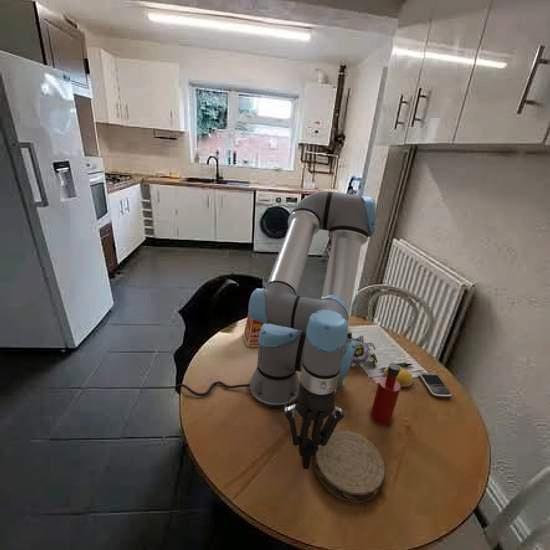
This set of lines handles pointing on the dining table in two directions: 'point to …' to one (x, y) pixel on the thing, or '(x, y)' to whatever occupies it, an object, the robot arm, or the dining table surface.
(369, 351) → the passion flower
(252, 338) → the milk carton
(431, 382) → the cell phone
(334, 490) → the woven round trivet
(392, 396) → the hot sauce bottle
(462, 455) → the dining table surface
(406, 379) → the yellow rounded piece
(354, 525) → the dining table surface
